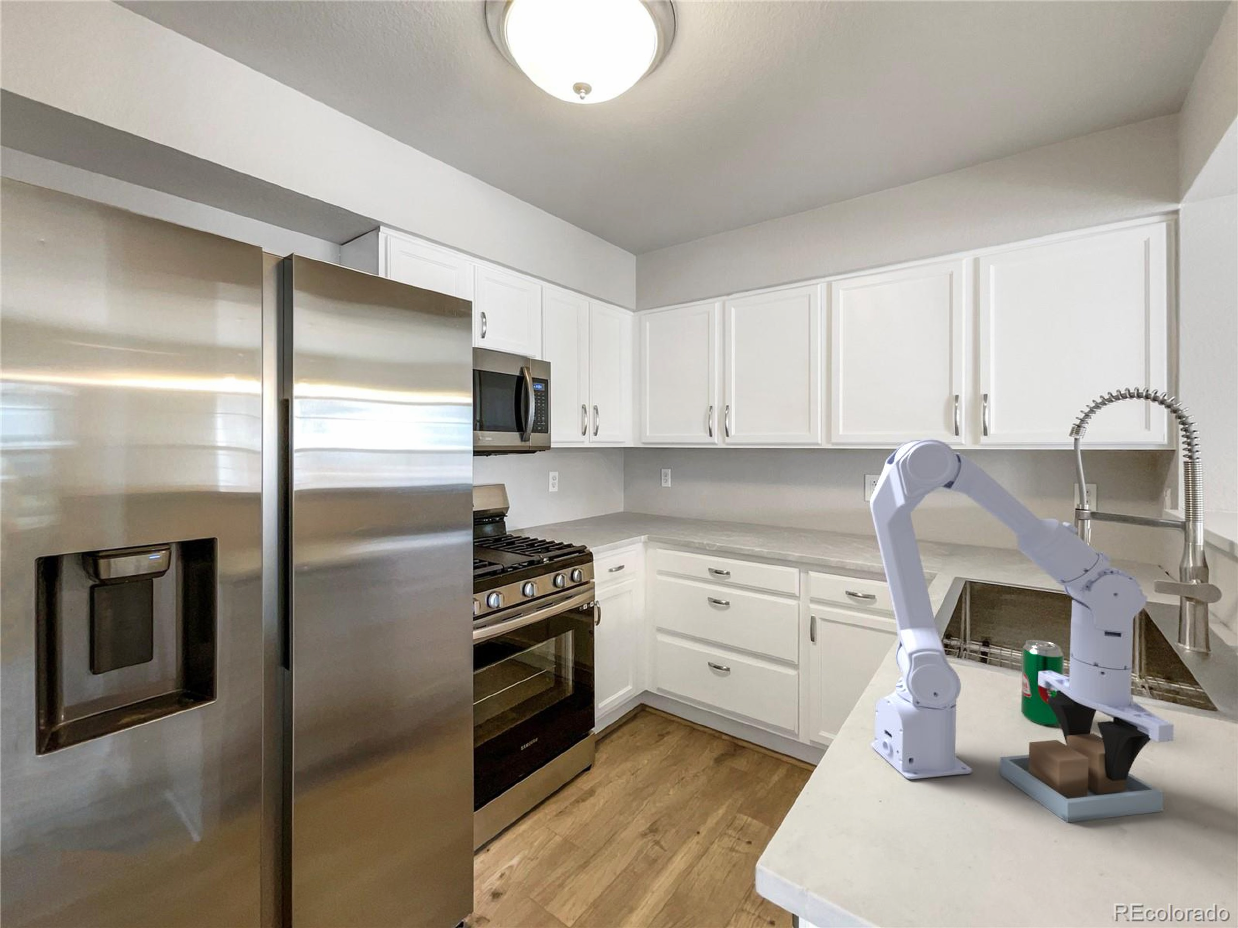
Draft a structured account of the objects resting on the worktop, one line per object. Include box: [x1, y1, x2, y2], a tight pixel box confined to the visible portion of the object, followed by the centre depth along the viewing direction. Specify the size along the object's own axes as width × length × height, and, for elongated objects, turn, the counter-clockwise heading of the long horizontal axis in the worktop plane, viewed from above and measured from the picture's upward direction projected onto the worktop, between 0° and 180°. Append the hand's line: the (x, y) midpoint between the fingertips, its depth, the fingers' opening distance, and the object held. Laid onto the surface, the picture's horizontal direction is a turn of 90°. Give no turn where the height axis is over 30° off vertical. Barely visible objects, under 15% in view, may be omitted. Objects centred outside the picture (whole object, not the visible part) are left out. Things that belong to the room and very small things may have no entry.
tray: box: [999, 754, 1164, 823], centre depth 66 cm, size 13×9×2 cm
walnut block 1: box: [1028, 739, 1089, 799], centre depth 66 cm, size 4×4×5 cm
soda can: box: [1020, 639, 1065, 727], centre depth 84 cm, size 5×5×12 cm
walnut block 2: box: [1067, 732, 1126, 794], centre depth 66 cm, size 4×4×5 cm
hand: (1096, 766), depth 66 cm, fingers open, 4 cm apart
